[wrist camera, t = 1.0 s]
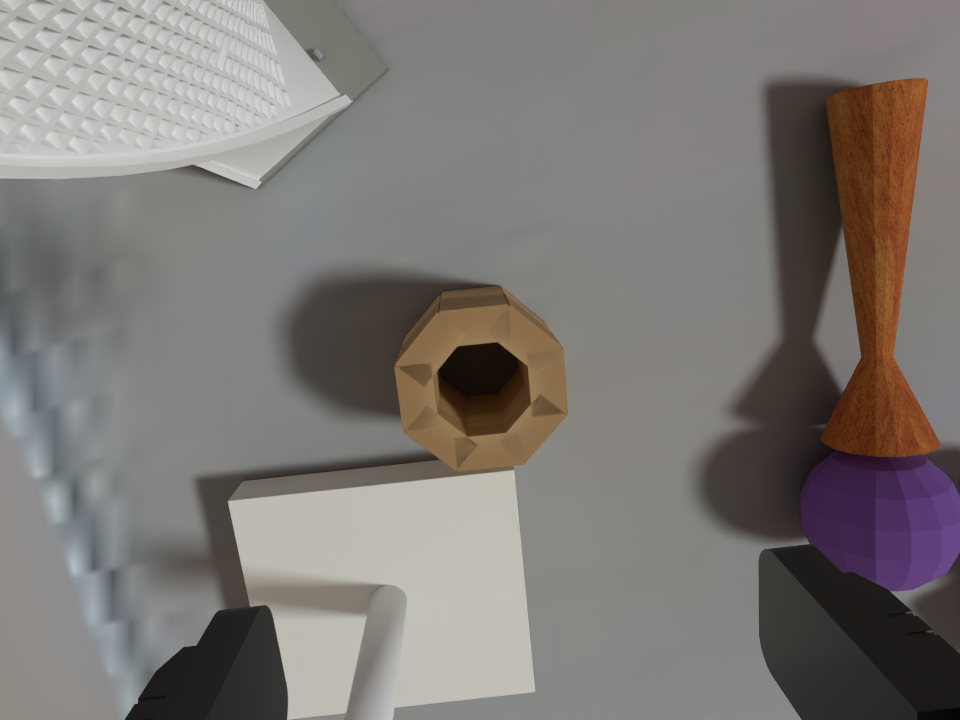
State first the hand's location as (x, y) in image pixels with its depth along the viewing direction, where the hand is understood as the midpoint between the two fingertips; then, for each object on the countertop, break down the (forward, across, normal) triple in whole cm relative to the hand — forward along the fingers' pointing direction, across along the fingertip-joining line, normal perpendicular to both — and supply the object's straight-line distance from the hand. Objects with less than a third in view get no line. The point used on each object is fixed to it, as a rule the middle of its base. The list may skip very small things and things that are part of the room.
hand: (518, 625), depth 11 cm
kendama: (+19, -16, +1) cm, 25 cm away
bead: (+18, 0, 0) cm, 18 cm away
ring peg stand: (+18, +5, +10) cm, 21 cm away
